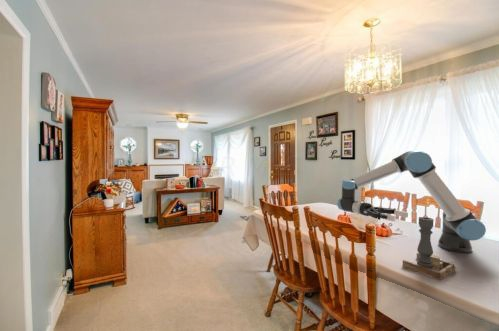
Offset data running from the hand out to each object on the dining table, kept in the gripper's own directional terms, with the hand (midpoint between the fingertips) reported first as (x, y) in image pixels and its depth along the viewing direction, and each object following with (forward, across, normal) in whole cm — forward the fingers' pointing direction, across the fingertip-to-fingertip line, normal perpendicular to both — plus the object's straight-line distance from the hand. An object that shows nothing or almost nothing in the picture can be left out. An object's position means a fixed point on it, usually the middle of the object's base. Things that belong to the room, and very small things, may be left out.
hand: (401, 216), depth 122 cm
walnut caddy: (+11, -4, -23) cm, 26 cm away
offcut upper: (+11, -7, -21) cm, 25 cm away
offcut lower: (+11, -7, -24) cm, 27 cm away
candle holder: (+11, 0, -24) cm, 26 cm away
